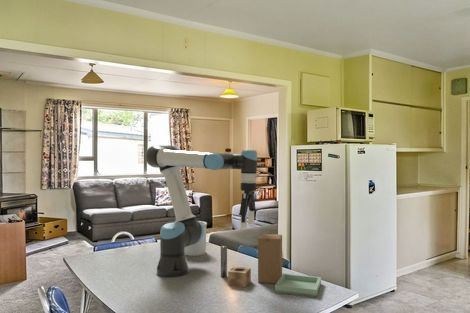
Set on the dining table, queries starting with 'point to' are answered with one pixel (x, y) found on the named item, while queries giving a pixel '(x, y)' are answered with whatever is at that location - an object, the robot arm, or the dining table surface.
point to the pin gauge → (223, 261)
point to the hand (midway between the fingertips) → (247, 226)
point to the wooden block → (269, 258)
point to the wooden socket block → (239, 276)
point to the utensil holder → (197, 244)
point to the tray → (298, 285)
